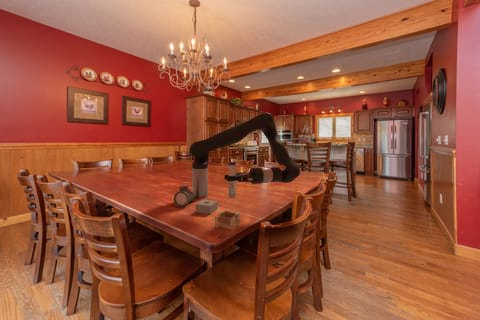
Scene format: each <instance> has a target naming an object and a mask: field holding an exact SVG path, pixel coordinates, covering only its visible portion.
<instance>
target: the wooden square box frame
mask: <svg viewBox="0 0 480 320" xmlns="http://www.w3.org/2000/svg"><path fill="white" fill-rule="evenodd" d="M240 223H241V212H237V211H231V210H230V211H228V210H222V211H220V212H219V213H218V214H217V215H216V216H214V227H215V228H220V229H221V228H222V229H227V230H235V229H236V227H237V226H238V225H239V224H240Z"/></svg>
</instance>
